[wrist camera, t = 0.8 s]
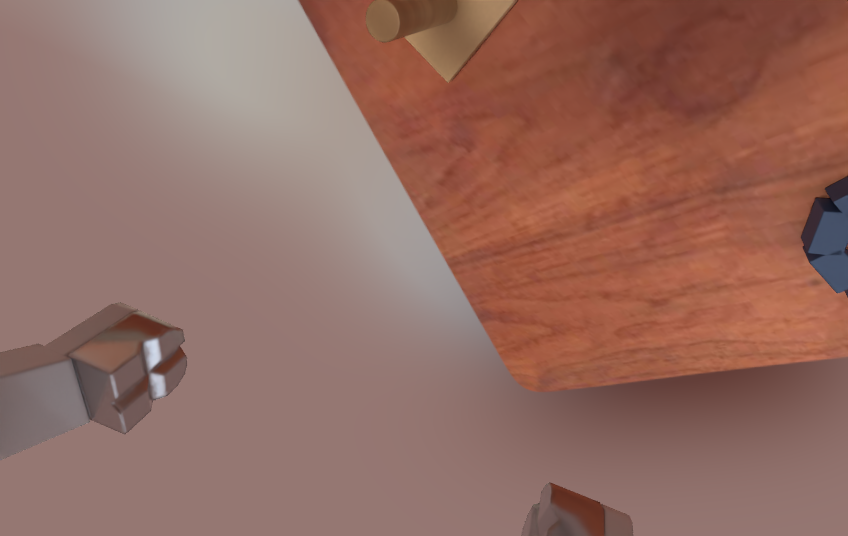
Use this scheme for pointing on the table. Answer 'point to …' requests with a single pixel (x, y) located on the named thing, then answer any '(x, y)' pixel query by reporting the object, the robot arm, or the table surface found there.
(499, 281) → the table surface
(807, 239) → the ring
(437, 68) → the stand
